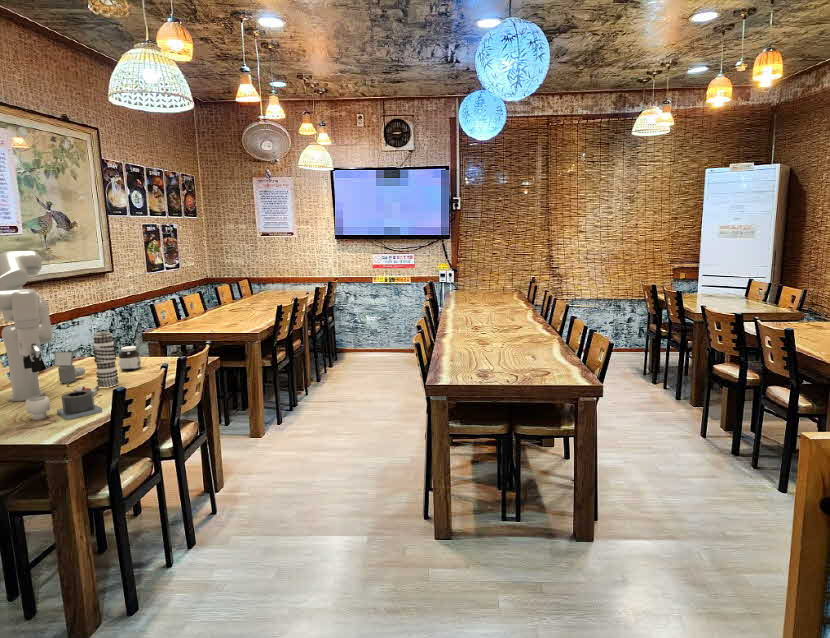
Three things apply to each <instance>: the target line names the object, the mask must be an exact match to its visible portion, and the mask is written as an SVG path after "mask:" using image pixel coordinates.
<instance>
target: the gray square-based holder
mask: <svg viewBox="0 0 830 638" xmlns="http://www.w3.org/2000/svg"><path fill="white" fill-rule="evenodd" d="M73 391H74V390H73ZM73 391H71V392H70V391H69V392H67V393H63V395H61V402H62V408H59V409H56V414H57V415H59V416H60V417H62V418H64V419H65V420H66V421H70V420H74V419H78V418H82V417H81V416H83V417H86V416H85V415H87V416H90V415H89V414H91V415H94V414H93V413H95V414H98V413H97V412H99V413H101V412H100V411H102V412H103V408H102V407H101V406H99V405H97V404H95V398H94V397H95V396H93V392H92V391H90V390H82V391H74V392H73Z"/></svg>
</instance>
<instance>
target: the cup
mask: <svg viewBox="0 0 830 638" xmlns="http://www.w3.org/2000/svg"><path fill="white" fill-rule="evenodd" d="M25 407H26V412H27V414H30V415H31V417H32V421H41V420H45V419H47V417H48V414H47V412H48V411H50V410H51V406H50V397H49V396H46V395H45V396H44V395H43V396H40V397H34V398H30V399H27V400H25Z"/></svg>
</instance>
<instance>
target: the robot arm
mask: <svg viewBox="0 0 830 638" xmlns="http://www.w3.org/2000/svg"><path fill="white" fill-rule="evenodd" d="M42 267H43V263H42V259H41V255H40V254H39V253H38V252H37V251H35V250H10V251H9V250H7V251H4V252H0V312H1V313H2V316H3V318H4V320H5V321H7V322H13V323H14V324H10V325H6V326H5V327H3V329H2V330H1V338H2V341H3V344H4V347H5V351H6V356H7V363H8V368H9V369H8V371H9V376H10V383H11V384H10V385H11V392H12V394H11V395H9V396H8V400H9V401H10V402H22V401H25V402H26V400H27V399H30V398H34V397H40V396H44V395H46V394H45V391H44V390H41V389H40V382H39V375H38V373H40V372H42V371H43V363H42V358H41V353H42V350H41V349H42V348H41V345H45V344H48V343H51V342H52V341H53V337H54V336H53V329H52V323H51V319H50V311H49V309H48V304H47V302H46V301H45V299H44V298H42V297H41V296H40V294H39V292H37V290H35V289H34V288H24V287H23V286H24V285H26V283H27V282H28V280H29V277H31V276H36V275H38V274H39V273H40V271H41V269H42Z"/></svg>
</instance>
